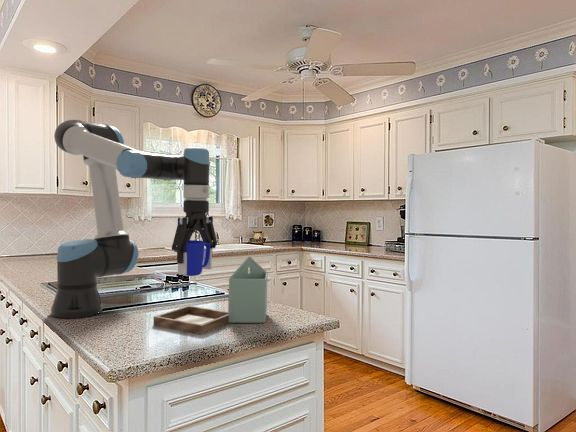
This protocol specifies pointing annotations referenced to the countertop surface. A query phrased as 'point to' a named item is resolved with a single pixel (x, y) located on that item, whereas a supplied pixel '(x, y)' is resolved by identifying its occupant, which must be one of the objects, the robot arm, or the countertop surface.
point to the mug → (196, 256)
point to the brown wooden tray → (192, 319)
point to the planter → (248, 294)
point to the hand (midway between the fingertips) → (195, 271)
